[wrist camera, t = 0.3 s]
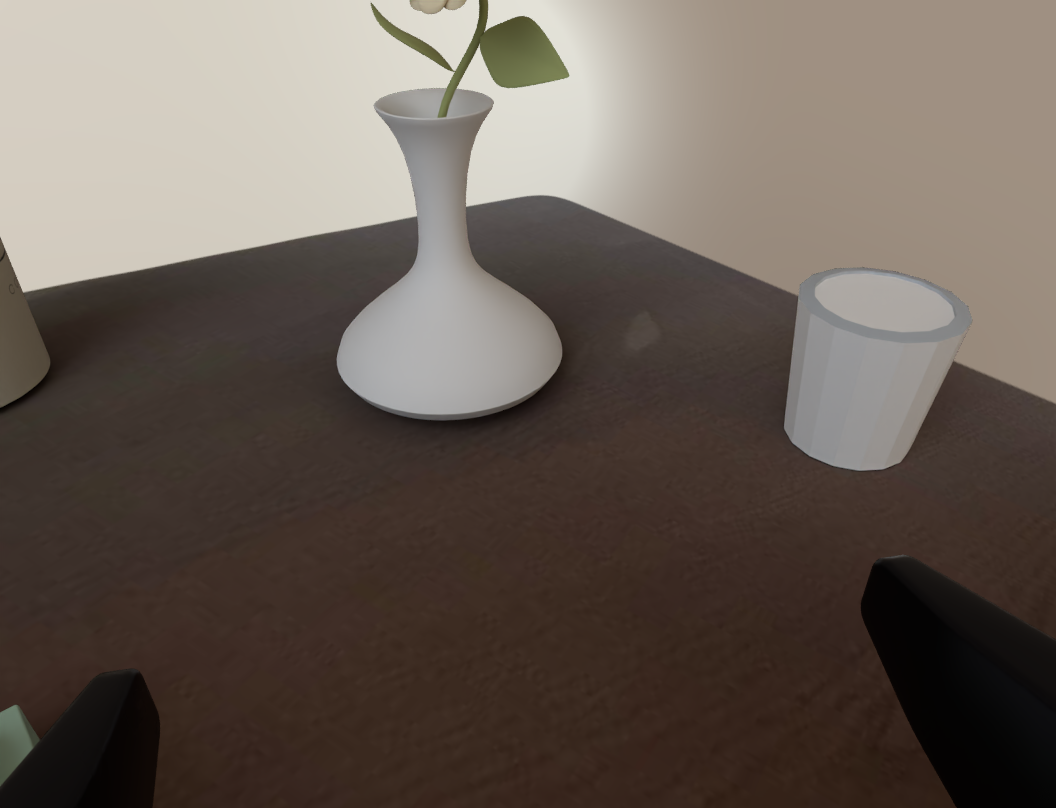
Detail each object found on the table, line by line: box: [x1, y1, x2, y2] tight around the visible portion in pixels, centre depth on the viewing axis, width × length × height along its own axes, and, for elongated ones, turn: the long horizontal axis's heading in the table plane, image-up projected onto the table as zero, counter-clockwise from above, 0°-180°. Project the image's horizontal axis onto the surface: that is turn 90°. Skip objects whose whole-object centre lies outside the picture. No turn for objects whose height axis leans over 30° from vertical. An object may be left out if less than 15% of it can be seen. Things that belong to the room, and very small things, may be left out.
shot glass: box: [784, 267, 972, 471], centre depth 35 cm, size 7×7×7 cm
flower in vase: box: [337, 0, 569, 420], centre depth 33 cm, size 13×11×25 cm
